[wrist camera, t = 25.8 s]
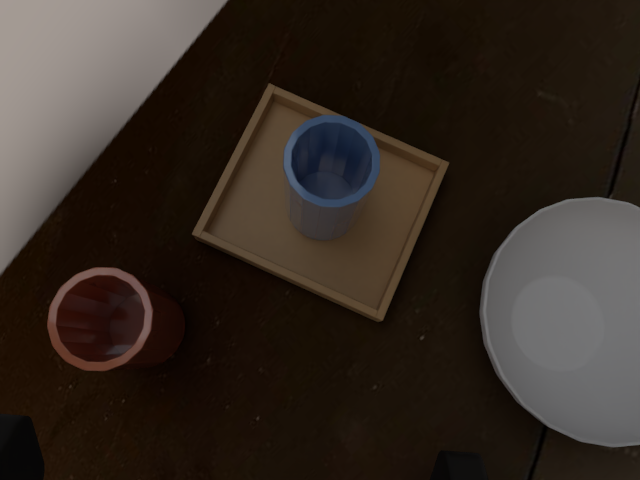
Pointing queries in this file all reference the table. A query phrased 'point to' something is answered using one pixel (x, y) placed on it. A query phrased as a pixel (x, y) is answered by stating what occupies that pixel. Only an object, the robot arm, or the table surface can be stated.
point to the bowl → (570, 318)
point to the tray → (303, 252)
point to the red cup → (114, 321)
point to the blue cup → (328, 175)
